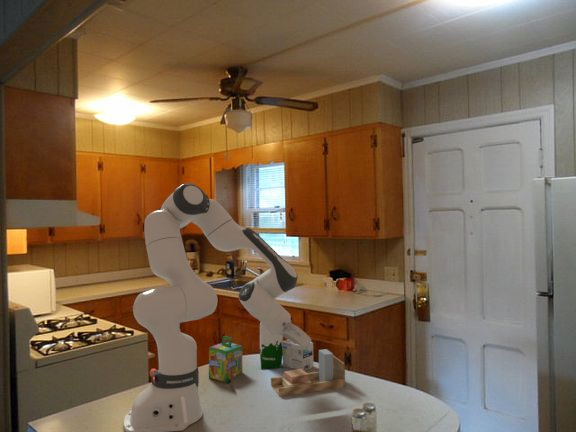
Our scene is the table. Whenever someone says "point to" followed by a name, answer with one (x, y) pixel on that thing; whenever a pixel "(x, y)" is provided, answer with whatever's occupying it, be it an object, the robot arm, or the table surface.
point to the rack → (313, 381)
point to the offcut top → (296, 376)
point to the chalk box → (225, 360)
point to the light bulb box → (296, 356)
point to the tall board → (325, 365)
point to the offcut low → (286, 384)
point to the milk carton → (270, 349)
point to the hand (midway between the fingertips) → (303, 345)
